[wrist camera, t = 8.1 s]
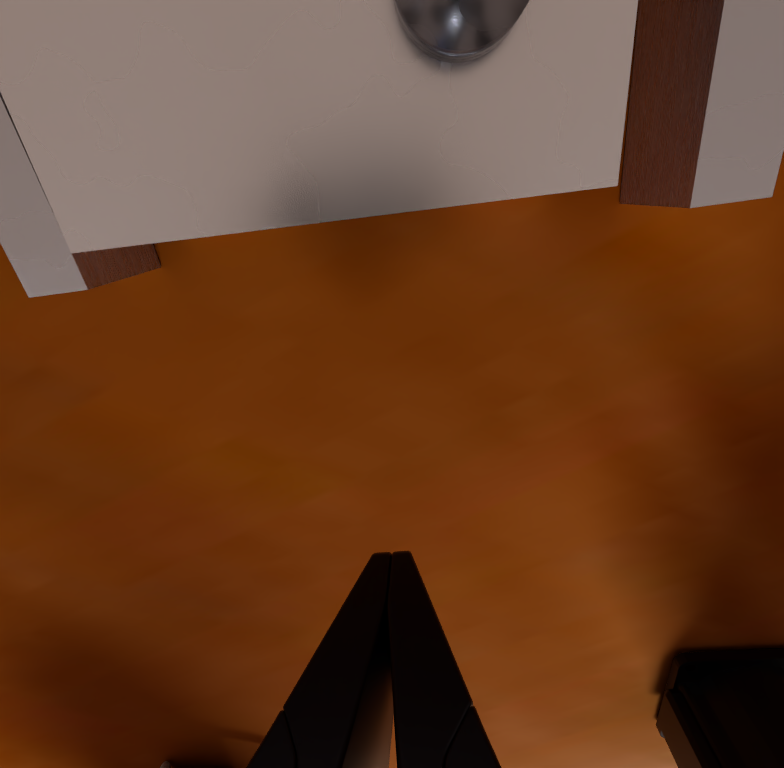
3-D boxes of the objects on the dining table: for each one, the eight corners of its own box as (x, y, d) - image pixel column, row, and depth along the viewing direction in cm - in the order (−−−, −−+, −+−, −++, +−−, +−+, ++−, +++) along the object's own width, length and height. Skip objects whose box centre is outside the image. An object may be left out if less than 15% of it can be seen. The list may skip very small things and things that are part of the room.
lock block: (552, -135, 8) (728, -538, 4) (540, 187, 11) (636, 184, 6) (101, -47, 9) (-209, -284, 5) (188, 231, 12) (45, 258, 7)
